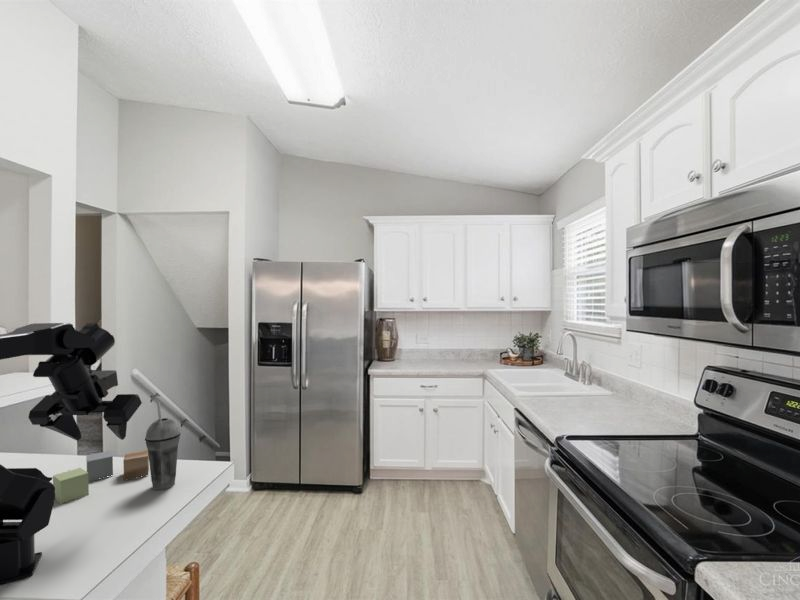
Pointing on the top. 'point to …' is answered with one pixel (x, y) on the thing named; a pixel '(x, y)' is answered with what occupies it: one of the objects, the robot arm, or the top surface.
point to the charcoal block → (99, 465)
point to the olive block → (71, 485)
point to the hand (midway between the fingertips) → (101, 438)
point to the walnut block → (136, 464)
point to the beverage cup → (162, 451)
